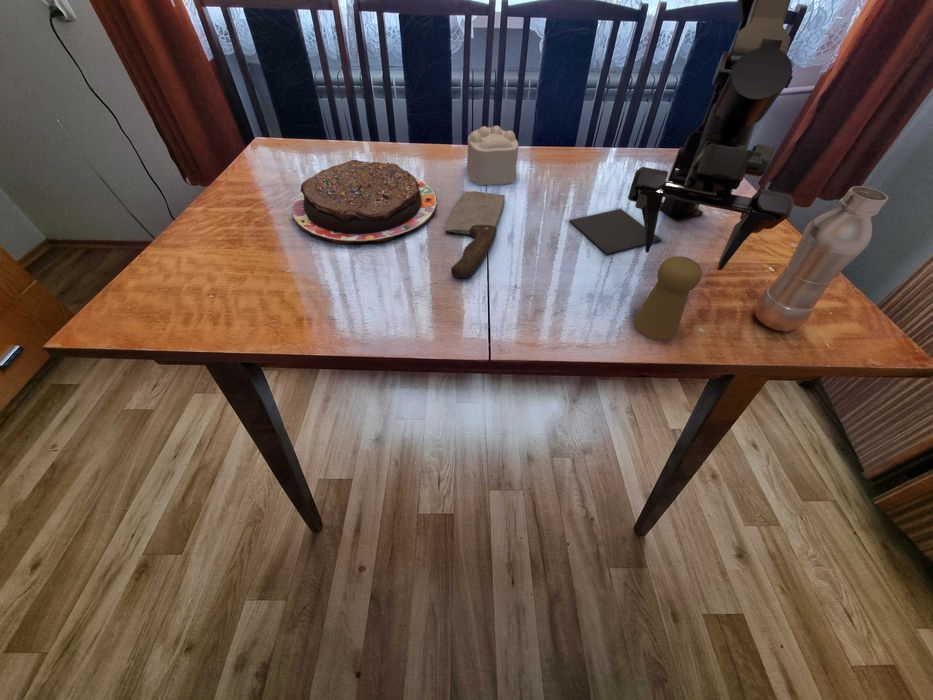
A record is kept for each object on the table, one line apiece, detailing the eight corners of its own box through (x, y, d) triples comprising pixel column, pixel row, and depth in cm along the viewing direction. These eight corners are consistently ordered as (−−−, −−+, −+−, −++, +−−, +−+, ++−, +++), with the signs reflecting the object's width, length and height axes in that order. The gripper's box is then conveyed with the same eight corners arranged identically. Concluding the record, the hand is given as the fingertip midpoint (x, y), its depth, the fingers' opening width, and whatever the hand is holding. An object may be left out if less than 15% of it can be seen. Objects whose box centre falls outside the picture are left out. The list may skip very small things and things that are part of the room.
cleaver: (483, 283, 67) (483, 272, 66) (424, 275, 68) (423, 264, 67) (506, 198, 87) (507, 188, 86) (460, 193, 88) (460, 183, 87)
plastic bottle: (796, 343, 59) (907, 214, 45) (745, 325, 62) (834, 197, 47) (799, 317, 63) (903, 190, 48) (750, 301, 65) (835, 175, 51)
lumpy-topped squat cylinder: (472, 185, 90) (473, 144, 84) (463, 160, 99) (463, 121, 93) (519, 183, 92) (523, 142, 85) (506, 158, 100) (509, 119, 94)
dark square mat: (620, 210, 84) (620, 208, 84) (660, 241, 77) (661, 239, 76) (569, 221, 81) (569, 220, 81) (606, 255, 73) (606, 253, 73)
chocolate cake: (465, 204, 85) (465, 172, 80) (358, 266, 70) (351, 232, 65) (372, 164, 97) (368, 134, 92) (264, 211, 82) (252, 178, 77)
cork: (676, 316, 63) (708, 254, 55) (676, 344, 59) (711, 281, 51) (635, 307, 64) (660, 245, 56) (632, 334, 60) (659, 271, 52)
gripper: (659, 98, 49) (616, 226, 50) (841, 124, 44) (788, 266, 45) (646, 144, 60) (610, 249, 61) (791, 169, 55) (750, 283, 56)
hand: (682, 260), depth 56 cm, fingers open, 9 cm apart
